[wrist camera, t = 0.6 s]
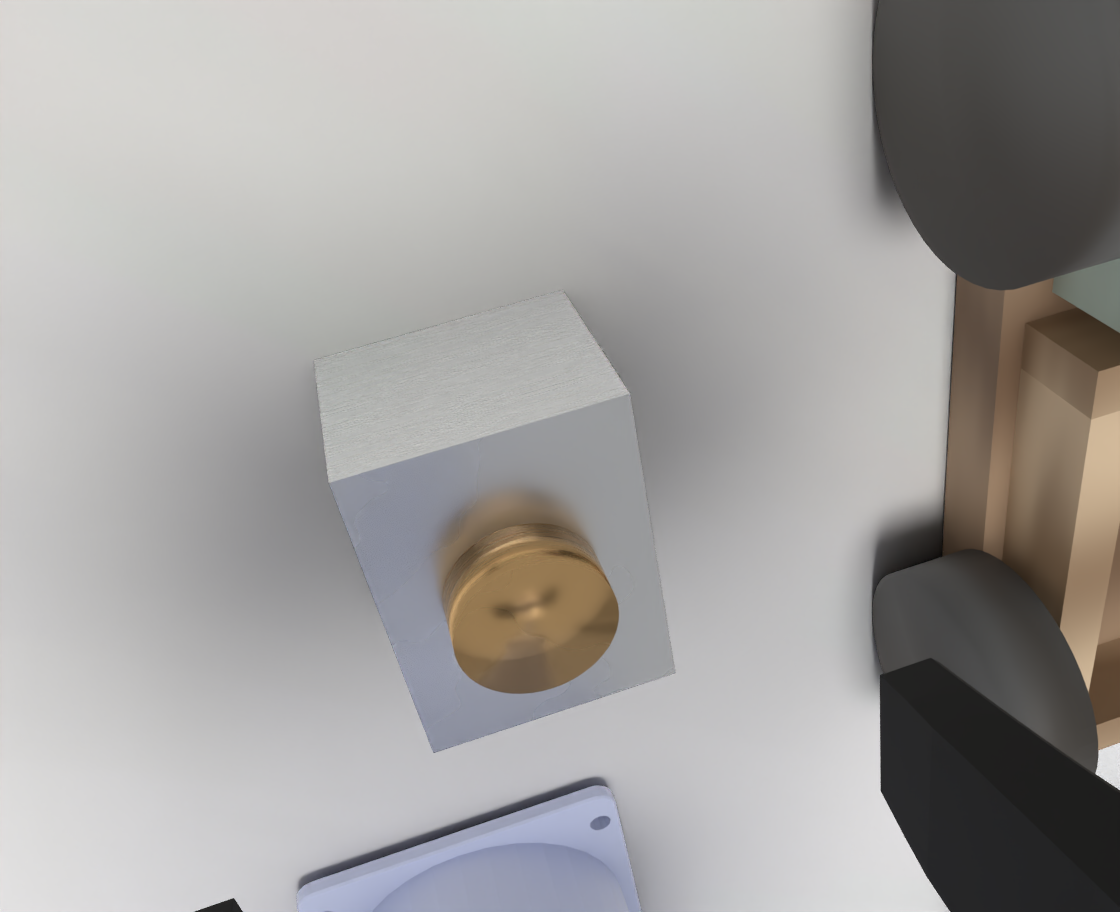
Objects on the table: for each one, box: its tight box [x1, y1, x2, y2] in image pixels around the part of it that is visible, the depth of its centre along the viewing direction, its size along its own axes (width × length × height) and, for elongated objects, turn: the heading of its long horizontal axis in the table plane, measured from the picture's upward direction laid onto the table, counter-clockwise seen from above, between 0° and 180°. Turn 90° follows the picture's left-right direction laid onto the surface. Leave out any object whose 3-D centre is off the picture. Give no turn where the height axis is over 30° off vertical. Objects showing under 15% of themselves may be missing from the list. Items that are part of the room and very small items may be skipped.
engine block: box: [314, 290, 675, 753], centre depth 17 cm, size 6×4×5 cm
